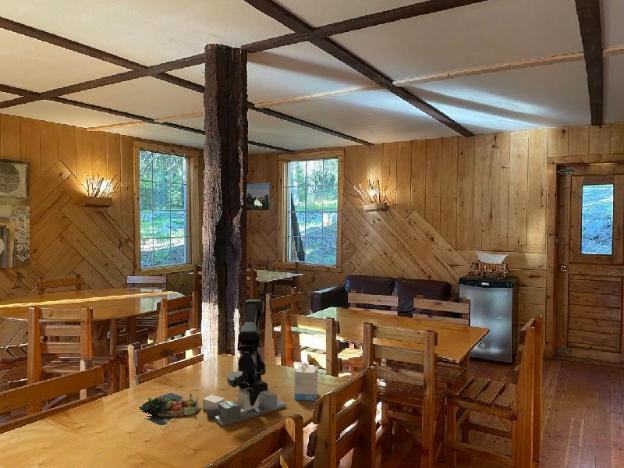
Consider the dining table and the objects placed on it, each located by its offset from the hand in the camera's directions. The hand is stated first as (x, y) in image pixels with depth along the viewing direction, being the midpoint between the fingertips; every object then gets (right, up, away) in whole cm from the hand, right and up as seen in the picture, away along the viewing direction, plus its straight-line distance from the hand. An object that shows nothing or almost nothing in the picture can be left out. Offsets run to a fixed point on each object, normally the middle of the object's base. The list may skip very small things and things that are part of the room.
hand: (248, 403), depth 172 cm
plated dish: (-31, -5, +5) cm, 32 cm away
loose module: (0, -1, 0) cm, 1 cm away
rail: (+1, -4, +1) cm, 4 cm away
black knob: (-13, -4, -2) cm, 14 cm away
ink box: (+22, -4, +18) cm, 29 cm away
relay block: (-14, -4, +6) cm, 16 cm away
